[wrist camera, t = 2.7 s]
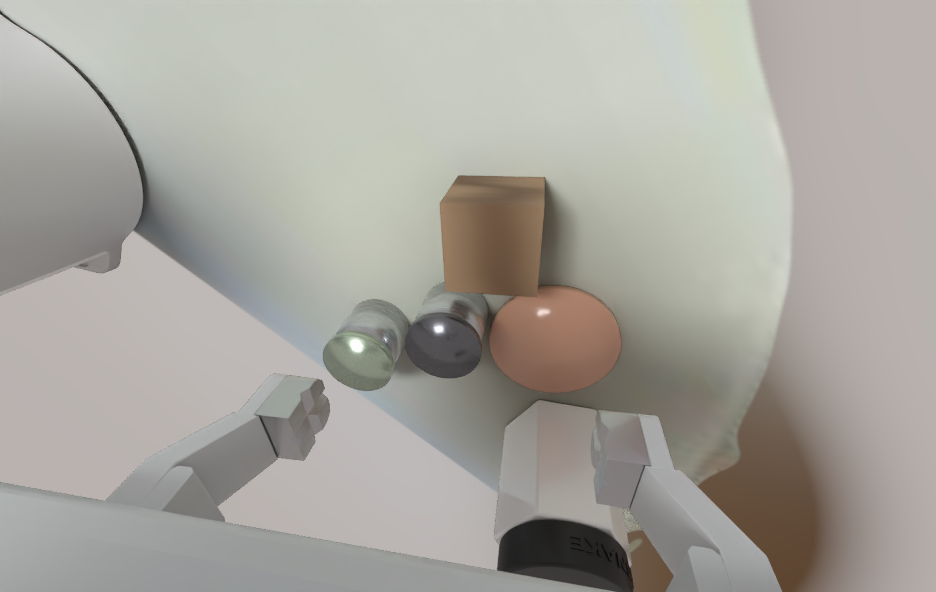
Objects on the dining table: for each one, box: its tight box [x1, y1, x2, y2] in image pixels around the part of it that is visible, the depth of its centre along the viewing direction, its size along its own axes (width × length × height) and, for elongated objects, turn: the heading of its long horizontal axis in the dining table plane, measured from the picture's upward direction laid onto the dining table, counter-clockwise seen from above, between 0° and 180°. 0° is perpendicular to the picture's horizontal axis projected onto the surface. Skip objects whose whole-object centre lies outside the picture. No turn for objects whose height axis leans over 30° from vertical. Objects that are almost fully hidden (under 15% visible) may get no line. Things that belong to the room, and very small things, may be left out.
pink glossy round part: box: [489, 285, 621, 393], centre depth 28 cm, size 9×9×1 cm
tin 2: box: [405, 282, 488, 378], centre depth 26 cm, size 5×5×5 cm
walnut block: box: [440, 176, 545, 297], centre depth 22 cm, size 5×5×5 cm
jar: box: [494, 400, 634, 592], centre depth 29 cm, size 9×8×12 cm
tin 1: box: [323, 299, 410, 391], centre depth 28 cm, size 5×5×5 cm
